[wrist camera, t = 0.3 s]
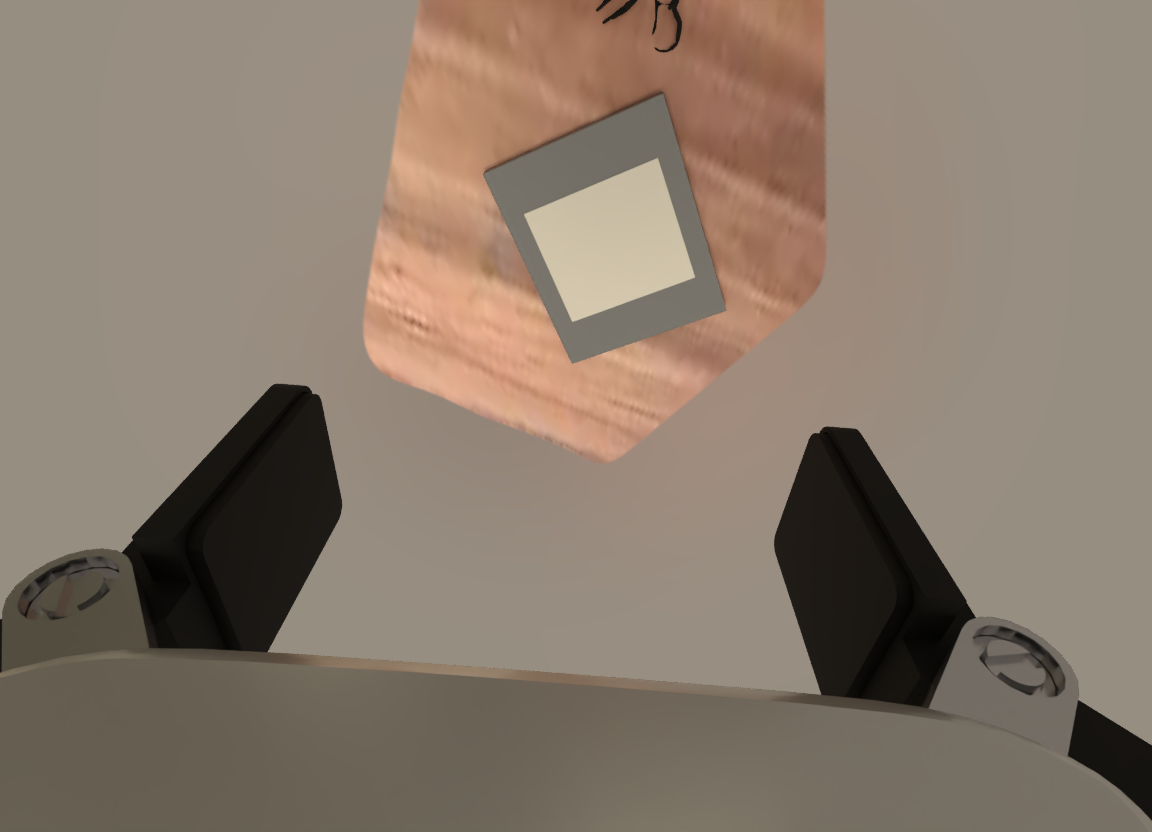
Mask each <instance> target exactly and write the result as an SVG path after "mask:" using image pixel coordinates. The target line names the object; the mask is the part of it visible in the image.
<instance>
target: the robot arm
mask: <svg viewBox="0 0 1152 832" xmlns="http://www.w3.org/2000/svg"><path fill="white" fill-rule="evenodd" d="M341 509H342V499H341V494H340V489H339V484H338V479H337V474H336V470H335V465H334V460H333V455H332V451H331V445H330V441H329V436H328V431H327V426H326V421H325V417H324V411H323V407H322V402H321V399H320V397H319V395H317V394H312V391H311V390H310V388H309V387H307V386H301V385H288V384H274V385H272V386H271V387H270V388H269V389H268V391H266V392H265V394H264V395H263V396H262V397H261V398H260V399H259V400H258V401H257V402H256V403H255V404H254V405H253V406H252V408H251V409H250V410H249V411H248V412H247V413H246V414H245V415H244V416H243V417H242V418H241V420H239V422H238V423H237V424H236V425H235V426H234V427H233V428H232V429H231V430H230V431H229V432H228V433H227V435H226V436H225V437H224V438H223V439H222V440H221V441H220V442H219V443H218V444H217V445H216V447H215V448H214V449H213V450H212V451H211V452H210V453H209V454H208V455H207V456H206V457H205V458H204V459H203V460H202V461H201V463H200V464H199V465H198V466H197V467H196V468H195V469H194V470H193V471H192V472H191V473H190V474H189V476H188V477H187V478H186V479H185V480H184V481H183V482H182V483H181V484H180V485H179V486H178V487H177V489H176V490H175V491H174V492H173V493H172V494H171V495H170V496H169V497H168V498H167V499H166V500H165V501H164V502H163V504H162V505H161V506H160V507H159V508H158V509H157V510H156V511H155V512H154V513H153V514H152V515H151V517H150V518H149V519H148V520H147V521H146V522H145V523H144V524H143V525H142V526H141V527H140V528H139V529H138V531H137V532H136V533H135V534H134V535H133V536H132V539H133V541H132V542H131V543H130V544H129V545H128V546H127V547H126V548H125V550H124V551H123V552H122V553H121V552H119V551H116V550H110V549H92V550H84V551H80V552H76V553H72V554H68V555H66V556H63V557H61V558H58V559H56V560H54V561H51V562H49V563H47V564H45V565H44V566H42V567H40V568H39V569H37V570H35V571H34V572H32V573H30V574H29V575H28V576H27V577H26V578H24V579H23V580H22V581H21V582H20V583H18V584H17V585H16V586H15V587H14V589H13V590H12V591H11V593H10V594H9V596H8V597H7V598H6V600H5V604H4V607H3V611H2V619H0V832H1152V745H1150V744H1148V743H1147V742H1145V741H1144V740H1142V739H1140V738H1139V737H1137V736H1136V735H1134V734H1132V733H1131V732H1129V731H1128V730H1126V729H1124V728H1123V727H1121V726H1120V725H1118V724H1116V723H1115V722H1113V721H1111V720H1110V719H1108V718H1107V717H1105V716H1103V715H1102V714H1100V713H1098V712H1097V711H1095V710H1094V709H1092V708H1090V707H1089V706H1087V705H1086V704H1084V703H1082V702H1081V701H1079V700H1078V697H1079V687H1078V680H1077V678H1076V676H1075V674H1074V672H1073V670H1072V668H1071V666H1070V665H1069V664H1068V662H1067V661H1066V660H1065V659H1064V657H1062V655H1061V654H1060V653H1059V652H1058V651H1057V650H1056V649H1055V648H1054V647H1052V646H1051V645H1050V644H1049V643H1048V642H1047V641H1046V640H1044V639H1043V638H1041V637H1040V636H1038V635H1037V634H1035V633H1033V632H1032V631H1030V630H1029V629H1027V628H1025V627H1022V626H1020V625H1018V624H1015V623H1013V622H1011V621H1008V620H1004V619H999V618H995V617H978V618H976V617H975V615H974V614H973V612H972V611H971V609H970V608H969V606H968V604H967V603H966V599H965V598H964V596H963V595H962V593H961V591H960V590H959V588H958V587H957V585H956V583H955V582H954V580H953V579H952V577H951V575H950V574H949V572H948V571H947V569H946V568H945V566H944V564H943V563H942V561H941V560H940V558H939V557H938V555H937V553H936V552H935V550H934V549H933V547H932V545H931V544H930V542H929V541H928V539H927V537H926V536H925V534H924V533H923V532H922V530H921V528H920V526H919V525H918V523H917V522H916V520H915V519H914V517H913V515H912V514H911V512H910V511H909V509H908V507H907V506H906V504H905V503H904V501H903V499H902V498H901V496H900V495H899V493H898V492H897V490H896V488H895V487H894V485H893V484H892V482H891V481H890V479H889V477H888V476H887V474H886V473H885V471H884V470H883V468H882V466H881V465H880V463H879V462H878V460H877V458H876V457H875V455H874V454H873V452H872V450H871V449H870V447H869V446H868V444H867V443H866V441H865V439H864V438H863V436H862V435H861V433H860V432H859V431H858V430H857V429H852V428H839V427H824V428H823V429H822V430H821V431H820V433H814V434H812V435H811V437H810V439H809V441H808V444H807V447H806V449H805V452H804V455H803V458H802V461H801V464H800V466H799V469H798V472H797V475H796V478H795V481H794V483H793V486H792V489H791V492H790V494H789V497H788V500H787V503H786V506H785V509H784V511H783V514H782V517H781V520H780V523H779V526H778V528H777V531H776V534H775V540H774V546H775V553H776V557H777V560H778V563H779V566H780V569H781V572H782V575H783V578H784V581H785V584H786V587H787V590H788V593H789V597H790V600H791V603H792V606H793V609H794V612H795V615H796V618H797V621H798V624H799V627H800V630H801V633H802V636H803V639H804V643H805V646H806V649H807V652H808V655H809V658H810V661H811V664H812V667H813V670H814V673H815V676H816V679H817V683H818V685H819V689H820V692H821V695H817V694H806V693H796V692H786V691H775V690H763V689H750V688H739V687H726V686H714V685H701V684H690V683H678V682H666V681H652V680H641V679H629V678H616V677H602V676H590V675H577V674H564V673H551V672H539V671H525V670H511V669H498V668H484V667H472V666H459V665H446V664H431V663H416V662H403V661H389V660H373V659H360V658H346V657H333V656H318V655H305V654H288V653H270V652H268V650H269V648H270V646H271V644H272V643H273V641H274V639H275V637H276V635H277V633H278V631H279V629H280V628H281V626H282V624H283V622H284V620H285V618H286V617H287V615H288V613H289V611H290V609H291V607H292V605H293V604H294V602H295V600H296V598H297V596H298V594H299V592H300V591H301V589H302V587H303V585H304V583H305V581H306V579H307V578H308V576H309V574H310V572H311V570H312V568H313V567H314V565H315V563H316V561H317V559H318V557H319V555H320V553H321V552H322V550H323V548H324V546H325V544H326V542H327V540H328V539H329V537H330V535H331V533H332V531H333V529H334V528H335V526H336V524H337V522H338V520H339V518H340V515H341Z"/></svg>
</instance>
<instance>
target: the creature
mask: <svg viewBox="0 0 1152 832" xmlns="http://www.w3.org/2000/svg"><path fill="white" fill-rule="evenodd" d="M610 1H611V0H604V1H603V3H602V4H601V5H600V6H599V7H598V8H597V9H596V11H599V10H600V9H601V8H603V7H604V6H605V5H606V4H607V3H608V2H610ZM636 2H637V0H630V1H628V2H626V4H625V5H624V6H623V7H621V8H620V9H619V10H617V11H616V12H615V13H614V14H612V15H611V16H610V17H608V18H607V19H605V20H604V21H603V22H602V23H603V24H604V23H606V22H607V21H609V20H610V19H615V18H617V17H618V16H620V15H622V14H624V13H625V12H626V11H628V10H629V9H630V8H631V7H632V6H633V5H634V4H635V3H636ZM678 3H679V0H672V1H671V2H670V4H665V5H669V7H668V9H669V10H670V9H672V12H673V14H674V17H675V19H676V21H677V33H676V43H675V44H673V45H672V46H671V47H670V48H669V49H668V50H658V49H657V48H655V47H654V48H655V49H656V50H657V51H659V52H668V51H671V50H673V49H674V48H675V47H676V46H677V44H678V42H679V39H680V34H681V29H682V21H681V18H680V15H679V13H678V11H677V8H676V7H677V5H678ZM661 4H662V3H660V2H659V1H657V0H655V10H656V19H655V23H654V28H653V32H652V35H653V34H654V32H655V29H656V22H657V10H658V6H660V5H661Z"/></svg>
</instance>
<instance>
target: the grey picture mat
mask: <svg viewBox="0 0 1152 832" xmlns="http://www.w3.org/2000/svg"><path fill="white" fill-rule="evenodd" d="M483 175H484V178H485V180H486V182H487V184H488V186H489V188H490V190H491V192H492V195H493V197H494V199H495V201H496V203H497V205H498V207H499V210H500V212H501V214H502V216H503V218H504V220H505V222H506V224H507V227H508V229H509V231H510V233H511V235H512V237H513V239H514V241H515V244H516V246H517V248H518V250H519V252H520V254H521V256H522V258H523V261H524V263H525V265H526V267H527V269H528V271H529V273H530V276H531V278H532V280H533V282H534V284H535V286H536V288H537V290H538V293H539V295H540V297H541V299H542V301H543V303H544V305H545V307H546V310H547V312H548V314H549V316H550V318H551V320H552V322H553V324H554V327H555V329H556V331H557V333H558V335H559V337H560V339H561V342H562V344H563V346H564V348H565V350H566V352H567V354H568V356H569V359H570V361H571V363H572V364H573V363H576V362H579V361H581V360H584V359H587V358H590V357H593V356H596V355H599V354H602V353H605V352H608V351H611V350H613V349H616V348H619V347H622V346H625V345H628V344H631V343H634V342H637V341H640V340H642V339H645V338H648V337H651V336H654V335H657V334H660V333H663V332H666V331H669V330H672V329H674V328H677V327H680V326H683V325H686V324H689V323H692V322H695V321H698V320H701V319H703V318H706V317H709V316H712V315H715V314H718V313H721V312H724V311H726V307H725V304H724V300H723V297H722V294H721V290H720V287H719V283H718V280H717V276H716V273H715V270H714V266H713V263H712V259H711V256H710V252H709V249H708V246H707V242H706V239H705V235H704V232H703V228H702V225H701V222H700V218H699V215H698V211H697V208H696V204H695V201H694V198H693V194H692V191H691V187H690V184H689V180H688V177H687V174H686V170H685V167H684V163H683V160H682V156H681V153H680V150H679V146H678V143H677V139H676V136H675V132H674V129H673V126H672V122H671V119H670V115H669V112H668V108H667V105H666V102H665V98H664V95H663V93H662V92H660V93H657V94H655V95H653V96H651V97H649V98H646V99H644V100H642V101H640V102H637V103H635V104H633V105H631V106H629V107H626V108H624V109H622V110H620V111H617V112H615V113H613V114H611V115H608V116H606V117H604V118H602V119H600V120H597V121H595V122H593V123H591V124H588V125H586V126H584V127H582V128H580V129H577V130H575V131H573V132H571V133H568V134H566V135H564V136H562V137H560V138H557V139H555V140H553V141H551V142H548V143H546V144H544V145H542V146H540V147H537V148H535V149H533V150H531V151H528V152H526V153H524V154H522V155H520V156H517V157H515V158H513V159H511V160H508V161H506V162H504V163H502V164H500V165H497V166H495V167H493V168H491V169H488V170H486V171H485V172H484V174H483Z"/></svg>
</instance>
